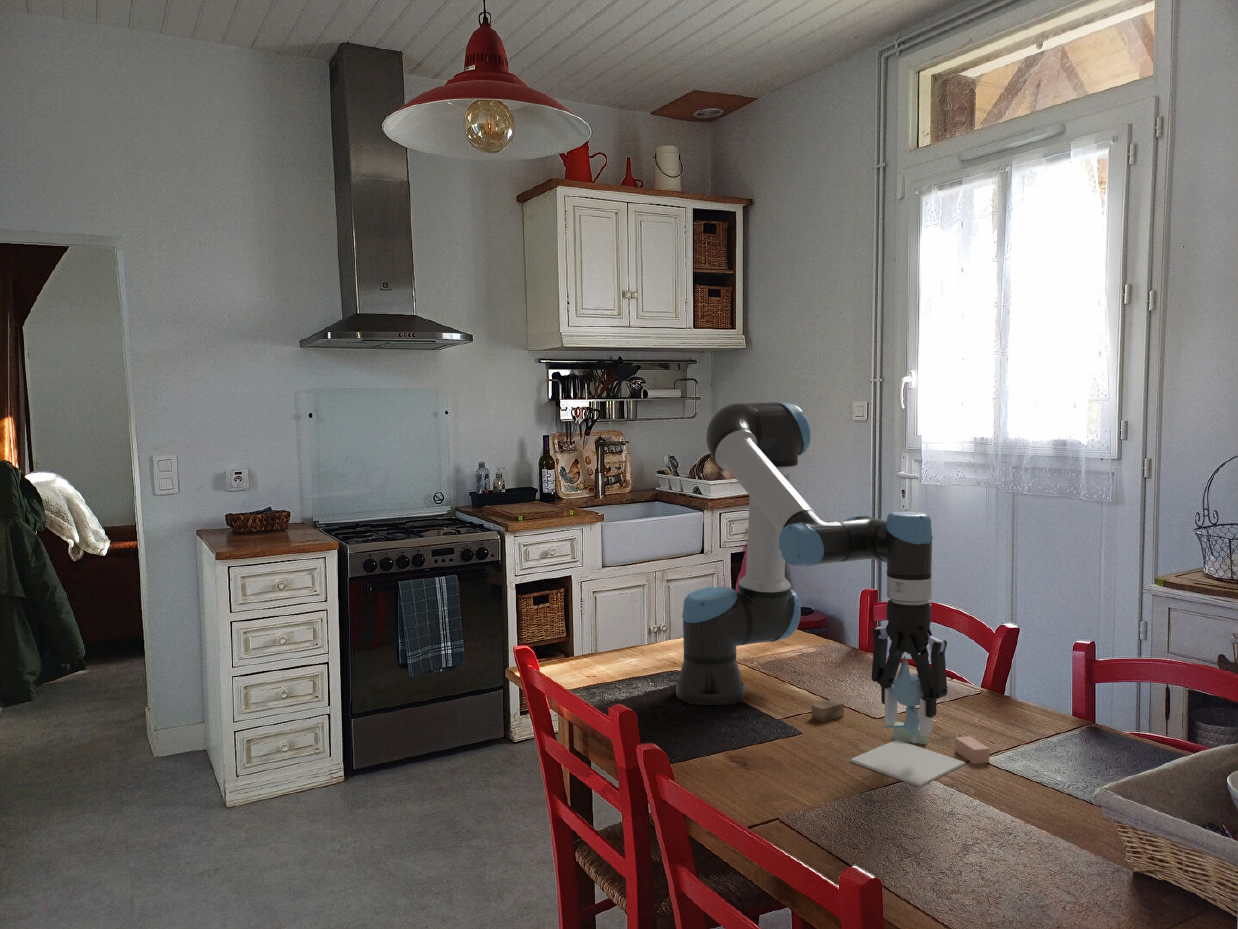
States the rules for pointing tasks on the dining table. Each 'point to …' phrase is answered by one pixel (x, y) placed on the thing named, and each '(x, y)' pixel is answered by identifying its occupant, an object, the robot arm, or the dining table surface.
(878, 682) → the robot arm
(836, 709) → the brick
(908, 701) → the toy
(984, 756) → the brick
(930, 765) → the tile
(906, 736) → the brick
